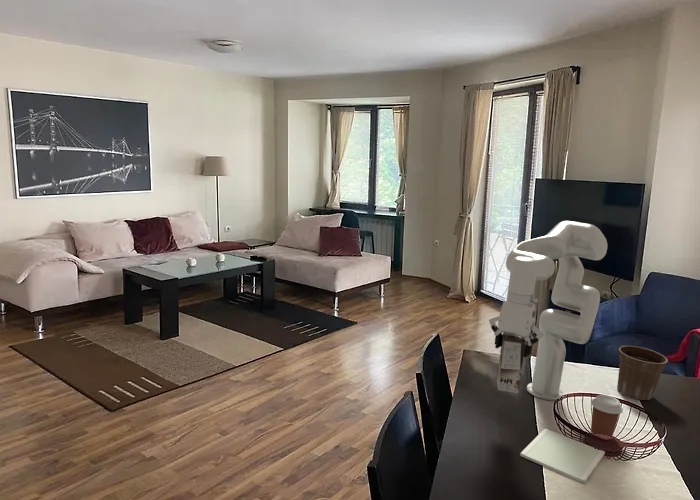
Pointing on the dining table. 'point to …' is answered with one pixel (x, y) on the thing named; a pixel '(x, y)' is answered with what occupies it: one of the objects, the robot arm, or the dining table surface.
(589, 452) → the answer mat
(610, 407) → the coffee cup
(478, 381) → the dining table surface
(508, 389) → the coffee box
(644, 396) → the plant pot
